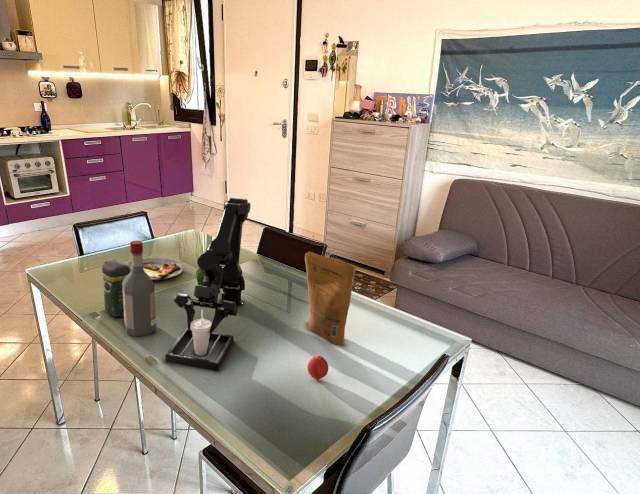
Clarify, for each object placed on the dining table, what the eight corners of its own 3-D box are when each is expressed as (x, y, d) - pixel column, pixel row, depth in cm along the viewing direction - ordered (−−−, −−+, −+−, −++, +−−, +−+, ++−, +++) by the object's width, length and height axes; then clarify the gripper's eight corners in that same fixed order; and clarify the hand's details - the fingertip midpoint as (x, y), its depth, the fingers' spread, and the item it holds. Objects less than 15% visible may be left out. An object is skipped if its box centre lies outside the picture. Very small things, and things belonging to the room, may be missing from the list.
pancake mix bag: (337, 351, 137) (348, 268, 127) (296, 325, 151) (303, 248, 141) (352, 344, 141) (363, 263, 131) (310, 320, 155) (318, 245, 145)
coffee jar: (136, 313, 153) (133, 263, 147) (115, 320, 148) (111, 269, 141) (121, 303, 159) (118, 255, 153) (101, 310, 154) (97, 261, 147)
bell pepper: (191, 289, 173) (191, 266, 170) (201, 282, 180) (201, 259, 177) (210, 294, 170) (210, 270, 167) (219, 286, 178) (220, 263, 174)
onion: (304, 372, 125) (307, 348, 122) (324, 372, 126) (327, 348, 123) (308, 385, 120) (311, 360, 117) (329, 385, 120) (332, 360, 117)
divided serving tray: (185, 334, 141) (185, 327, 140) (233, 342, 138) (233, 335, 137) (165, 361, 127) (165, 354, 126) (218, 371, 124) (218, 363, 123)
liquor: (128, 338, 137) (122, 248, 127) (124, 324, 145) (118, 239, 135) (157, 333, 141) (154, 245, 130) (151, 320, 149) (148, 236, 138)
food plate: (194, 271, 191) (194, 264, 190) (156, 288, 172) (156, 280, 171) (152, 258, 203) (152, 251, 202) (113, 273, 185) (112, 265, 183)
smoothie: (215, 348, 134) (215, 308, 129) (206, 359, 129) (206, 317, 124) (196, 344, 136) (196, 303, 131) (186, 354, 130) (186, 313, 126)
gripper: (176, 268, 129) (161, 319, 123) (236, 277, 126) (225, 329, 120) (185, 282, 139) (172, 330, 133) (242, 291, 136) (231, 339, 129)
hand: (199, 332), depth 128 cm, fingers closed on smoothie, 6 cm apart
